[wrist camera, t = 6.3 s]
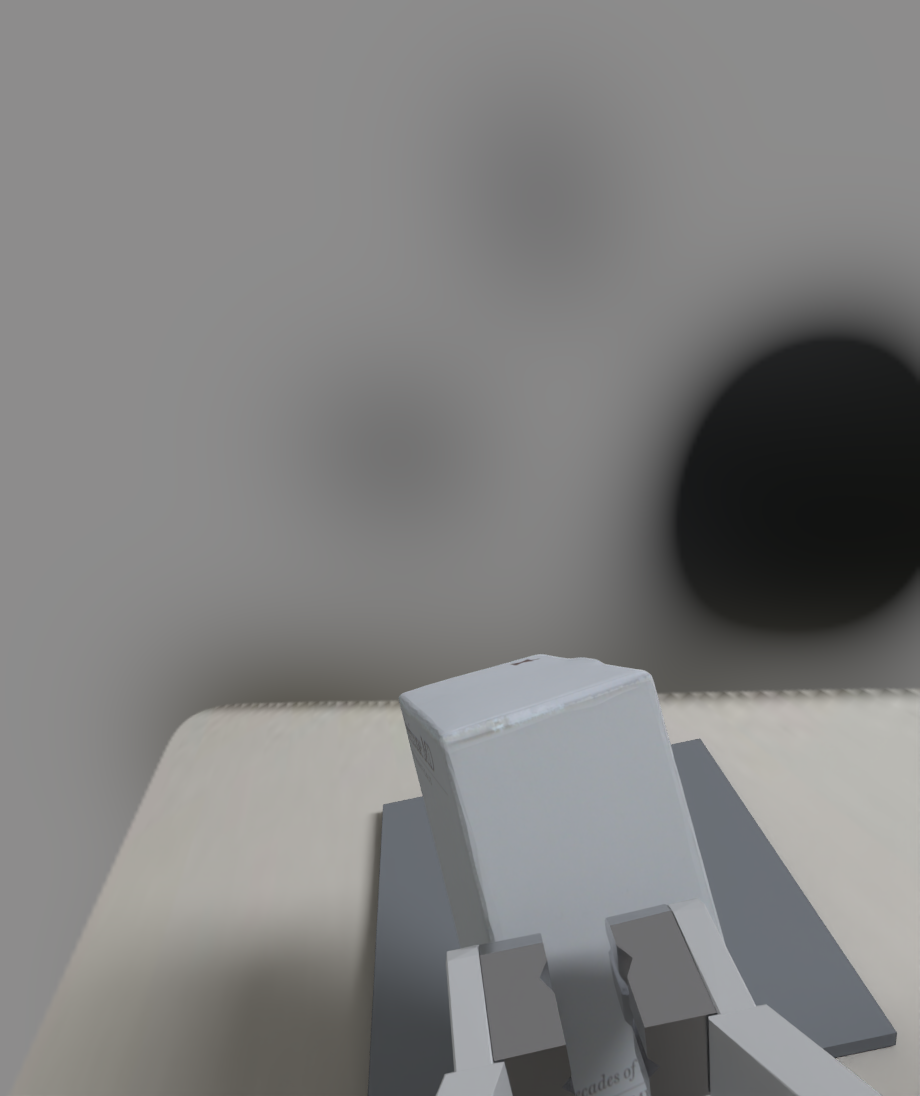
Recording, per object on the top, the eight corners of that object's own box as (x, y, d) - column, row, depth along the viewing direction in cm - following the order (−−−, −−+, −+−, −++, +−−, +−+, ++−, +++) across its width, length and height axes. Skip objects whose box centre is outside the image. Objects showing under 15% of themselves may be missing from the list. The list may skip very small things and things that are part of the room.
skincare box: (512, 1174, 16) (393, 692, 16) (665, 1101, 17) (547, 648, 17) (624, 1511, 10) (431, 733, 10) (852, 1366, 11) (662, 663, 11)
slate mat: (700, 747, 28) (699, 738, 28) (895, 1044, 17) (896, 1032, 17) (386, 813, 28) (383, 804, 28) (370, 1154, 17) (365, 1143, 17)
